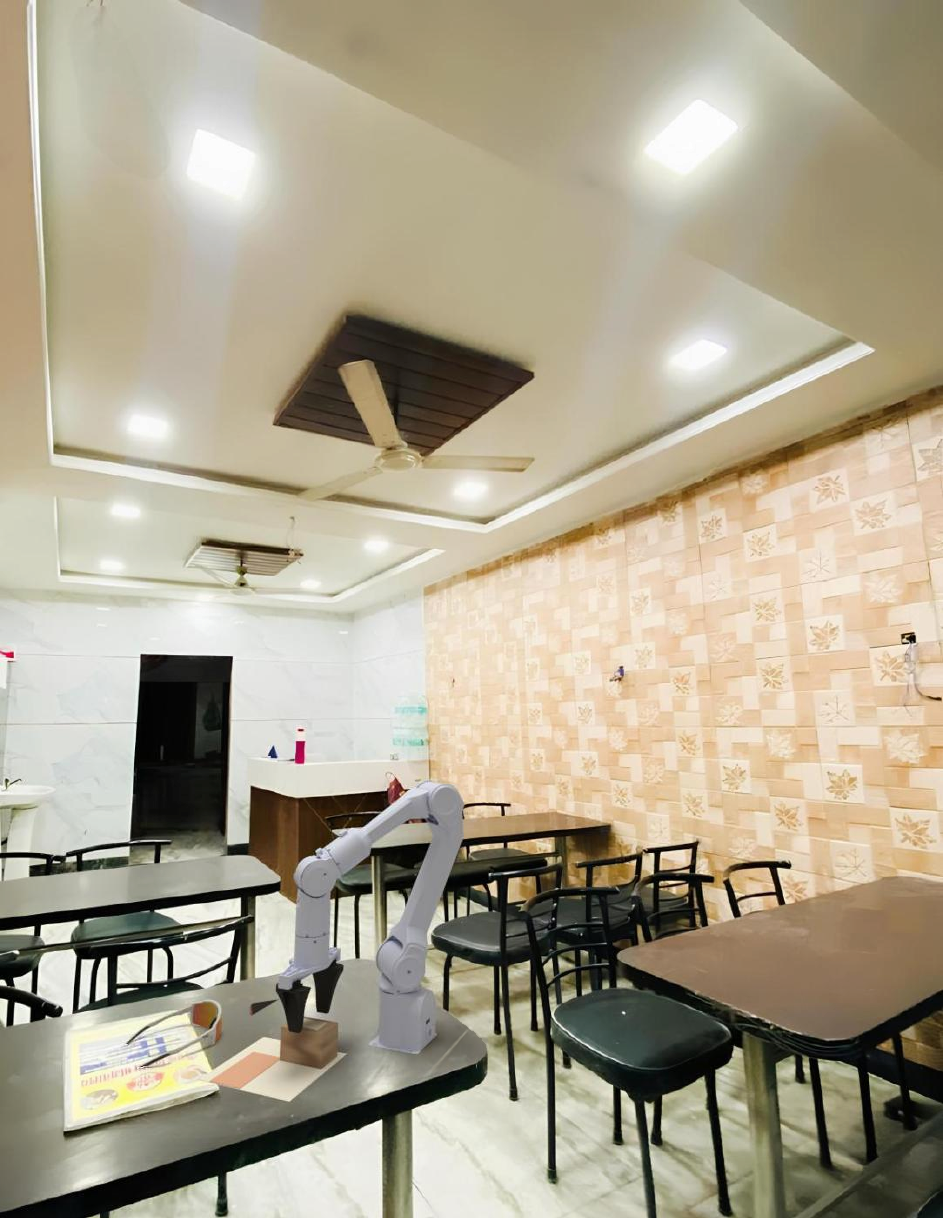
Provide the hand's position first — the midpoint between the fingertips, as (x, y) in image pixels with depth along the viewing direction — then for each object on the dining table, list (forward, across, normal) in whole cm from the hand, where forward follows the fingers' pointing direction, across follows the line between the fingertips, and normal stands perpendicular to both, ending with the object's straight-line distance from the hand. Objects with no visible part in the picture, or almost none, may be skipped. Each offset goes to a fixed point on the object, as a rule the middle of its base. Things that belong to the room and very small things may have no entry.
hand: (309, 1021), depth 107 cm
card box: (+6, 0, 0) cm, 6 cm away
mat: (+6, +4, -3) cm, 8 cm away
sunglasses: (+7, +3, -26) cm, 27 cm away
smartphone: (+7, -12, -16) cm, 21 cm away
